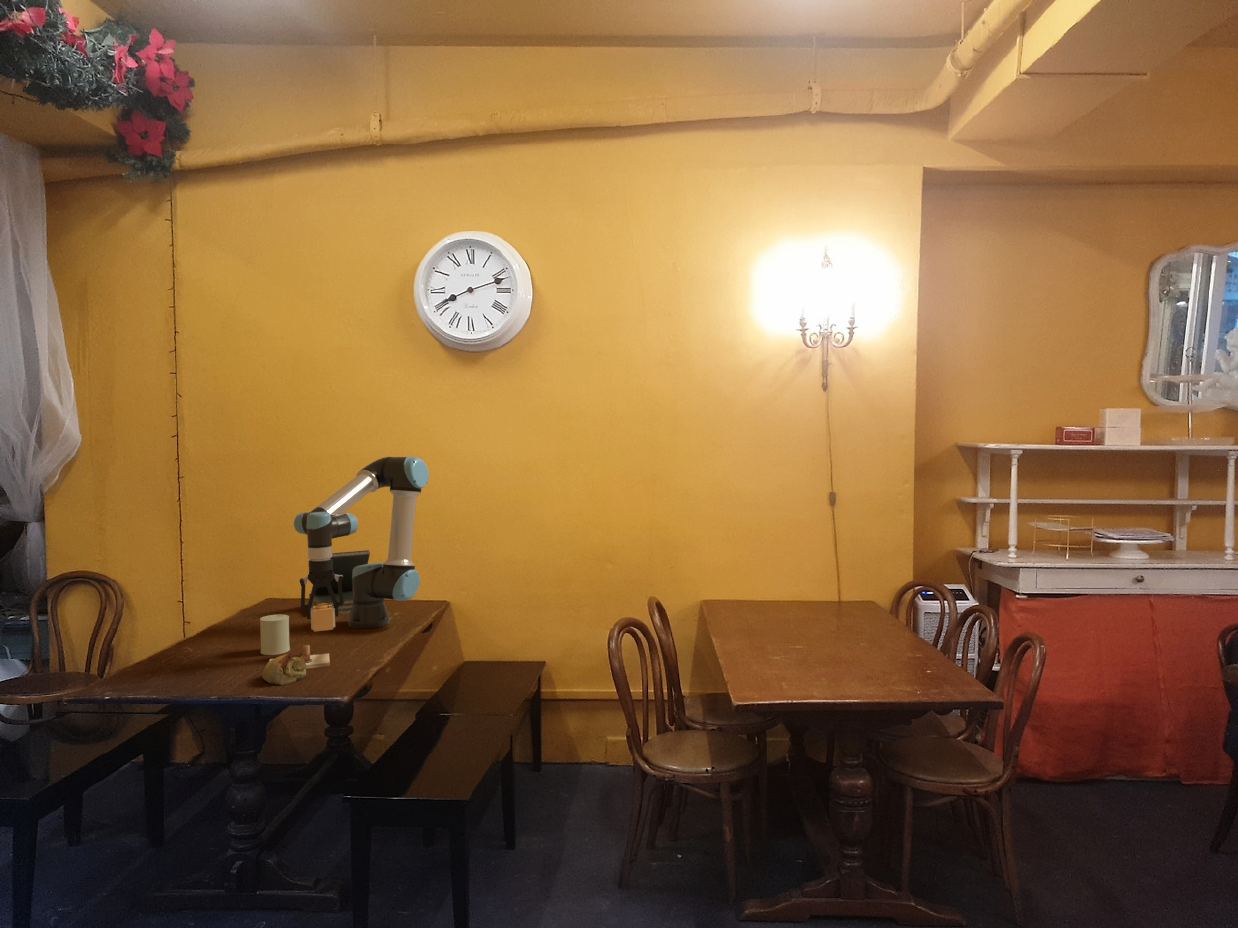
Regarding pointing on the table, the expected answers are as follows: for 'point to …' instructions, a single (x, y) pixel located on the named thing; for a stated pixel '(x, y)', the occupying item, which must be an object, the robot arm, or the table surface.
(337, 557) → the dark boxy piece
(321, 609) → the cube with dome bump
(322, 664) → the flat beige board
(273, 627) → the can
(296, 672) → the pastry
